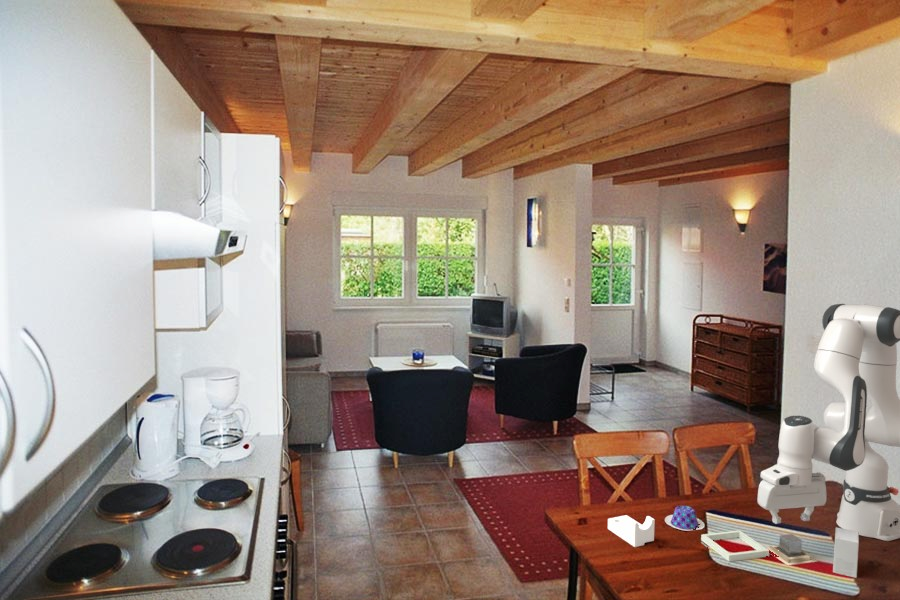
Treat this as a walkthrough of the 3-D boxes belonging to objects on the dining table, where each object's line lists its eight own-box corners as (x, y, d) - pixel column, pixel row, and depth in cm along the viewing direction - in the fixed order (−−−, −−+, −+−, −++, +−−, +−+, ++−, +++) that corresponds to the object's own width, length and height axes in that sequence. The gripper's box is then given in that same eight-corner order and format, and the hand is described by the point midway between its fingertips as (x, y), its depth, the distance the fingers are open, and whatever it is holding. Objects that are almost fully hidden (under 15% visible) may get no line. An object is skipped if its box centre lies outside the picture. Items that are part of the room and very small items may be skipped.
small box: (856, 580, 175) (859, 543, 173) (832, 575, 178) (834, 537, 176) (856, 567, 181) (859, 531, 180) (833, 562, 184) (835, 526, 183)
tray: (739, 538, 199) (739, 530, 198) (768, 558, 186) (769, 550, 186) (701, 542, 196) (701, 534, 196) (728, 564, 183) (729, 555, 183)
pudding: (689, 536, 200) (689, 520, 200) (656, 522, 210) (657, 506, 210) (712, 526, 207) (713, 510, 206) (680, 513, 217) (680, 498, 216)
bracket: (653, 543, 196) (654, 519, 195) (634, 548, 193) (635, 523, 192) (626, 525, 208) (626, 502, 207) (607, 529, 205) (608, 506, 204)
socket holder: (792, 547, 193) (792, 541, 193) (818, 563, 183) (818, 557, 183) (762, 550, 191) (763, 544, 191) (787, 567, 181) (787, 561, 181)
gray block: (790, 550, 189) (791, 533, 189) (801, 557, 186) (802, 540, 185) (779, 552, 189) (779, 535, 188) (789, 558, 185) (790, 541, 184)
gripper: (816, 468, 190) (813, 514, 191) (755, 472, 185) (752, 519, 186) (834, 475, 184) (830, 523, 185) (771, 480, 179) (767, 529, 180)
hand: (790, 521), depth 186 cm, fingers open, 8 cm apart
